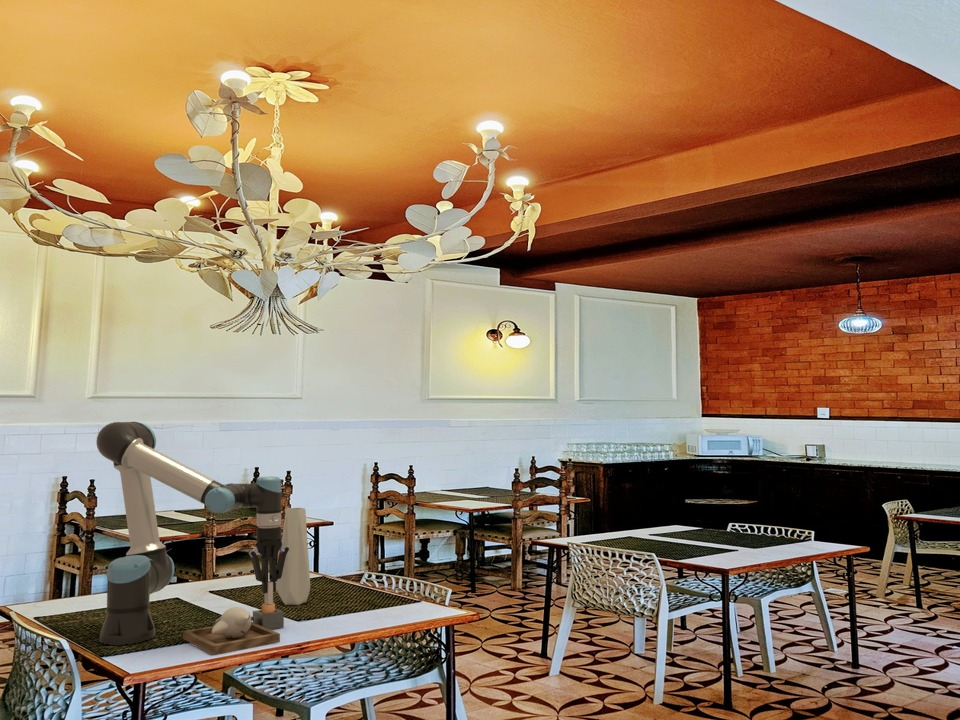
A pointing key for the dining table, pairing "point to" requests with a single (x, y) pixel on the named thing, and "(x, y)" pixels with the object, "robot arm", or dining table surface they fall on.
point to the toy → (233, 623)
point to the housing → (269, 619)
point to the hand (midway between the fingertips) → (268, 603)
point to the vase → (295, 559)
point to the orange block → (268, 608)
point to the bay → (230, 639)
